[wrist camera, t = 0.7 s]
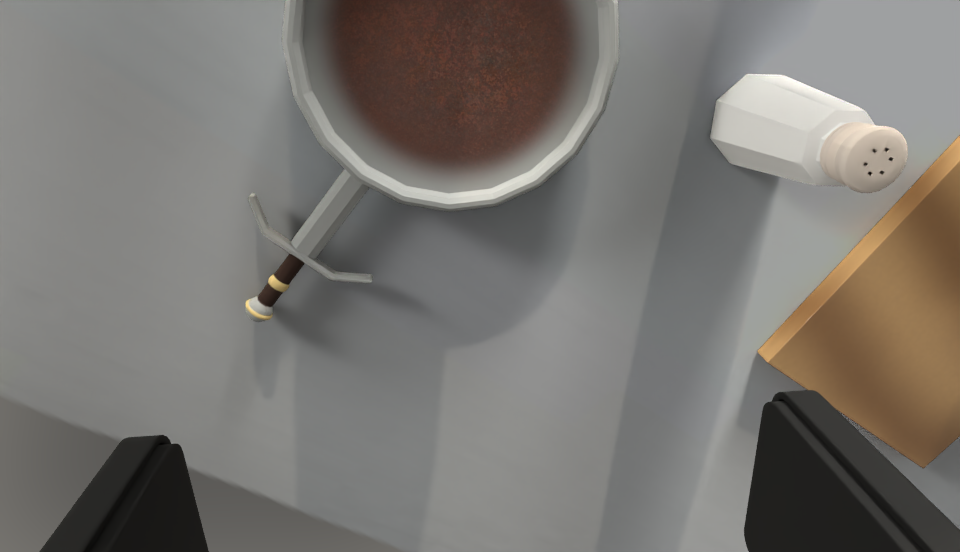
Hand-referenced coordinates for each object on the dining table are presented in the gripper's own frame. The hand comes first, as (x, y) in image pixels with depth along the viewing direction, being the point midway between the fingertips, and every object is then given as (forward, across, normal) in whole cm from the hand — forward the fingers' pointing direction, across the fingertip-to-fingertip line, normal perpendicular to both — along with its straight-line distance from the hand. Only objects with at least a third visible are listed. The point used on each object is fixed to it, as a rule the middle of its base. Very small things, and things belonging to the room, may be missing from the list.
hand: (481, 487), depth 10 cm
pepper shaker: (+28, -18, -1) cm, 33 cm away
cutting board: (+28, -33, +10) cm, 45 cm away
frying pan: (+28, +3, -1) cm, 28 cm away
